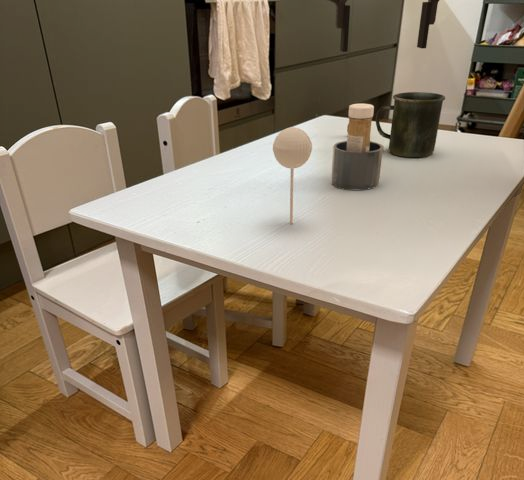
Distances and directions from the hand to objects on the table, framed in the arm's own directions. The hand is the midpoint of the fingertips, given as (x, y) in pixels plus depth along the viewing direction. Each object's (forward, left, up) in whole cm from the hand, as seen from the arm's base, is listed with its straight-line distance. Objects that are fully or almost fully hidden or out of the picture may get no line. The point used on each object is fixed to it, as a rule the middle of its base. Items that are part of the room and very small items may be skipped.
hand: (382, 49), depth 86 cm
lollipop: (+18, +19, -23) cm, 35 cm away
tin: (+3, -1, -23) cm, 23 cm away
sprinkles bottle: (+3, -1, -22) cm, 23 cm away
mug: (-13, -22, -23) cm, 34 cm away
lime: (-5, -38, -23) cm, 44 cm away
